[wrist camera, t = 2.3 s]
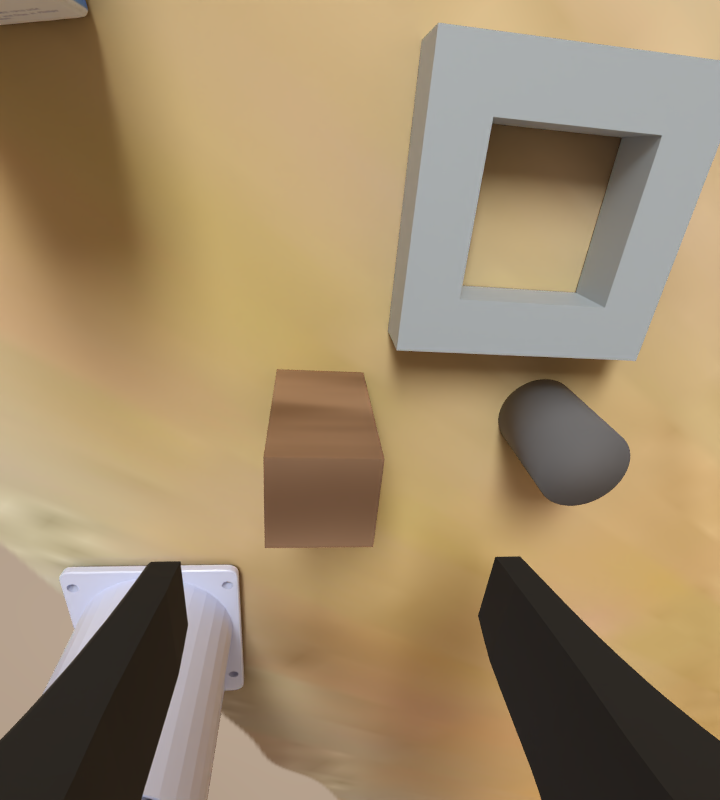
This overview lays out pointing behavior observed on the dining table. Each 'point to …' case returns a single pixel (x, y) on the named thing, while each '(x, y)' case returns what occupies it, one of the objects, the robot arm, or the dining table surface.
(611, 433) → the rubber stub
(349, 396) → the block
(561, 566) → the dining table surface
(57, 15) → the medicine box
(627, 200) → the bore block
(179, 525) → the dining table surface
